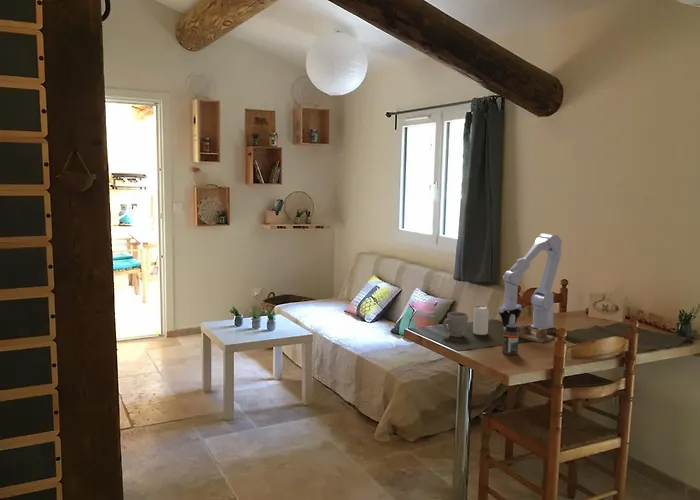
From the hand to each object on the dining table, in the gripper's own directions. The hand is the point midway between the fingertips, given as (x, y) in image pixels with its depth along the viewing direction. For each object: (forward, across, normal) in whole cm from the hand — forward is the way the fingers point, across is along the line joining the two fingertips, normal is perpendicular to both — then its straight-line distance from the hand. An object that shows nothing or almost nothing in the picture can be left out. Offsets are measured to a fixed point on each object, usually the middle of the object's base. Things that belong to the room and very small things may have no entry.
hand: (509, 325), depth 278 cm
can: (+2, +17, -3) cm, 17 cm away
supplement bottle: (+2, +32, +24) cm, 40 cm away
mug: (+2, +30, -7) cm, 31 cm away
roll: (+2, 0, 0) cm, 2 cm away
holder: (+2, +3, +15) cm, 15 cm away
